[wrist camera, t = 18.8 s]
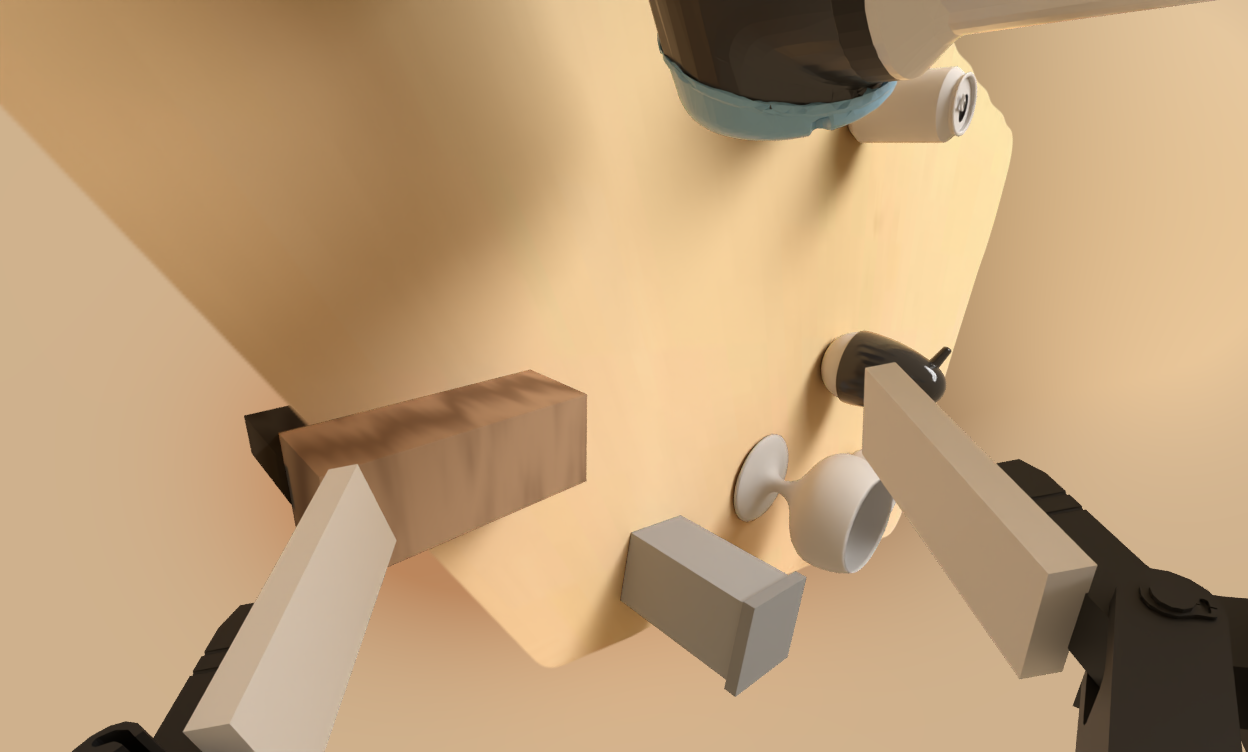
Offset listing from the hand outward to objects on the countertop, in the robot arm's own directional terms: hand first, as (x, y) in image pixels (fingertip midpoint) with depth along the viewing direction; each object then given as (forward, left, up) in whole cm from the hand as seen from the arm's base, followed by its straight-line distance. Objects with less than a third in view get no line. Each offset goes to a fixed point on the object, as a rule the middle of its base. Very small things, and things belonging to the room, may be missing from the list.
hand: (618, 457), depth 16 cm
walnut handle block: (-4, +20, -28) cm, 34 cm away
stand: (-2, +46, -27) cm, 53 cm away
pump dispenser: (-39, +57, -27) cm, 74 cm away
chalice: (-19, +57, -27) cm, 66 cm away
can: (-58, +31, -27) cm, 71 cm away
